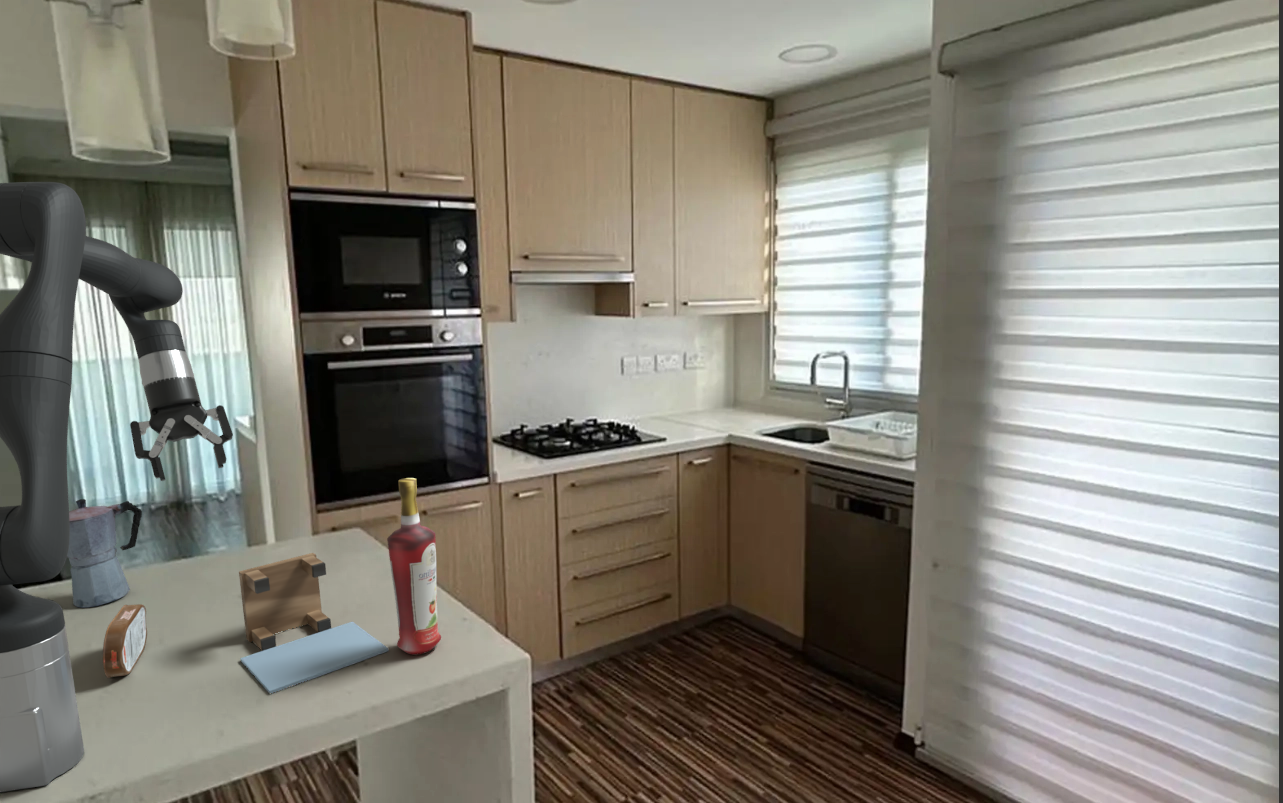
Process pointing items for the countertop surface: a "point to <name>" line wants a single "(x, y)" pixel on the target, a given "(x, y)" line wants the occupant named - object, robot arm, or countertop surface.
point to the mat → (312, 656)
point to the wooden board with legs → (282, 598)
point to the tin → (124, 640)
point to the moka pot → (98, 553)
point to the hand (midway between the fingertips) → (192, 473)
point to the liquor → (414, 576)
